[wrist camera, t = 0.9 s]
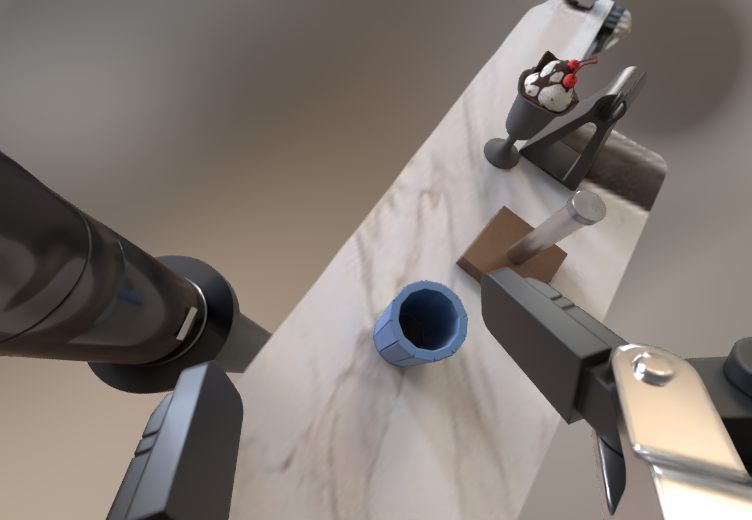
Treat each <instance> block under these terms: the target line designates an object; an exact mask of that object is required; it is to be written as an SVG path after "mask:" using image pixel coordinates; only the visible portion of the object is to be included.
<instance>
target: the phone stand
mask: <svg viewBox="0 0 752 520" xmlns="http://www.w3.org/2000/svg"><path fill="white" fill-rule="evenodd" d="M636 69H637V66H632V67H628V68H625V69H624V70H622V71H620V72H619V73H618V74H617V76H616V77H615V78H614V79H613V81H612V82H611V83H610V84H609V85H608V86H607V87H605V88H604V89H602V90H600V91H599V92H597V93H595V94H594V95H592V96H590V97H589V98H587V99H585V100H584V101H582V102H580V103H579V104H577V105H576V107H575V108H574V109H573V110H572V111H571V112H569V113H568V114H566V115H564V116H560V117H558V116H557V117H556V118H554V119H553V120H552V121H551V122H550V123H549V124H548V125H547V126H546V127H545V128H544V129H543V130H542V131H540V132H539V133H538V134H537V135H535V136H534V137H533V138H531V139H529V140H528V141H527V142H526V144H525V145H524V146H523V147H522V148H521V149H520V151H519V153H520V154H521V155H523V156H524V157H525V158H527V159H528V160H530V161H531V162H532V163H534V164H535V165H537V166H538V167H540V168H541V169H542V170H544V171H547V173H548V174H549V175H551V176H552V177H554V178H555V179H556V180H558V181H559V182H561V183H562V184H563V185H565V186H566V187H568V188H569V189H570V190H572V191H575V190H576V189H577V187H578V186H579V185H580V183H581V182H582V180H583V179H584V177H585V176H586V174H587V173H588V171H589V170H590V169H591V167H592V166H593V164H594V163H595V161H596V159H597V157H598V155H599V153H600V152H601V150H602V148H603V146H604V144H605V142H606V140H607V139H608V137H609V135H610V133H611V131H612V129H613V127H614V126H615V124H616V122H617V120H619V119H620V118H621V117H622V116H623V115H624V114H625V112H626V111H627V109H628V108H629V107H630V105H631V104H632V102H633V101H634V100H635V98H636V97H637V95H638V94H639V92H640V91H641V90H642V88H643V87H644V85H645V83H646V81H647V73H646V72H644V73H642V75H641V76H640V77H639V79H638V80H637V82H636V83H635V84H634V86H633V87H632V89H631V90H630V91H629V93H626V94H624V95H623V92H620V91H621V89H622V88H623V87H624V85H625V84H626V83H627V81H628V80H629V79H630V77H631V76H632V75H633V73H634V72H635V71H636ZM588 122H591V123H594V124H595V125H596V126H597V130H596V132H595V134H594V135H593V137H592V138H591V140H590V142H589V143H588V145H587V146H586V148H585V150H584V151H583V153H582V154H581V155H580V154H578V153H577V152H575V151H574V150H573V149H571V148H570V147H568V146H567V145H565V144H564V143H562V142H561V141H560V139H561V138H563V137H565V136H566V135H568V134H569V133H571V132H573V131H574V130H576V129H577V128H579V127H581V126H582V125H584V124H585V123H588Z"/></svg>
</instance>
